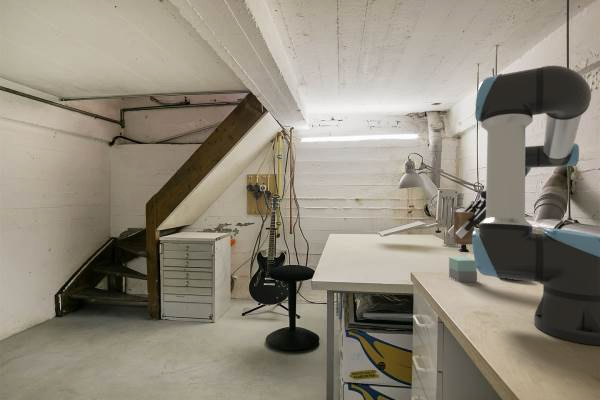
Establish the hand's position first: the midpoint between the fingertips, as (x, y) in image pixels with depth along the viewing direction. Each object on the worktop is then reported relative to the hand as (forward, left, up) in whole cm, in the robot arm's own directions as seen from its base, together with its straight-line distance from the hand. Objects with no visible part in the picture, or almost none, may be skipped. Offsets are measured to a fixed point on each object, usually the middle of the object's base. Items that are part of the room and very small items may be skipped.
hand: (454, 234), depth 124 cm
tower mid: (+3, -1, -13) cm, 14 cm away
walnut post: (+4, -1, -3) cm, 5 cm away
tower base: (+3, -1, -17) cm, 18 cm away
